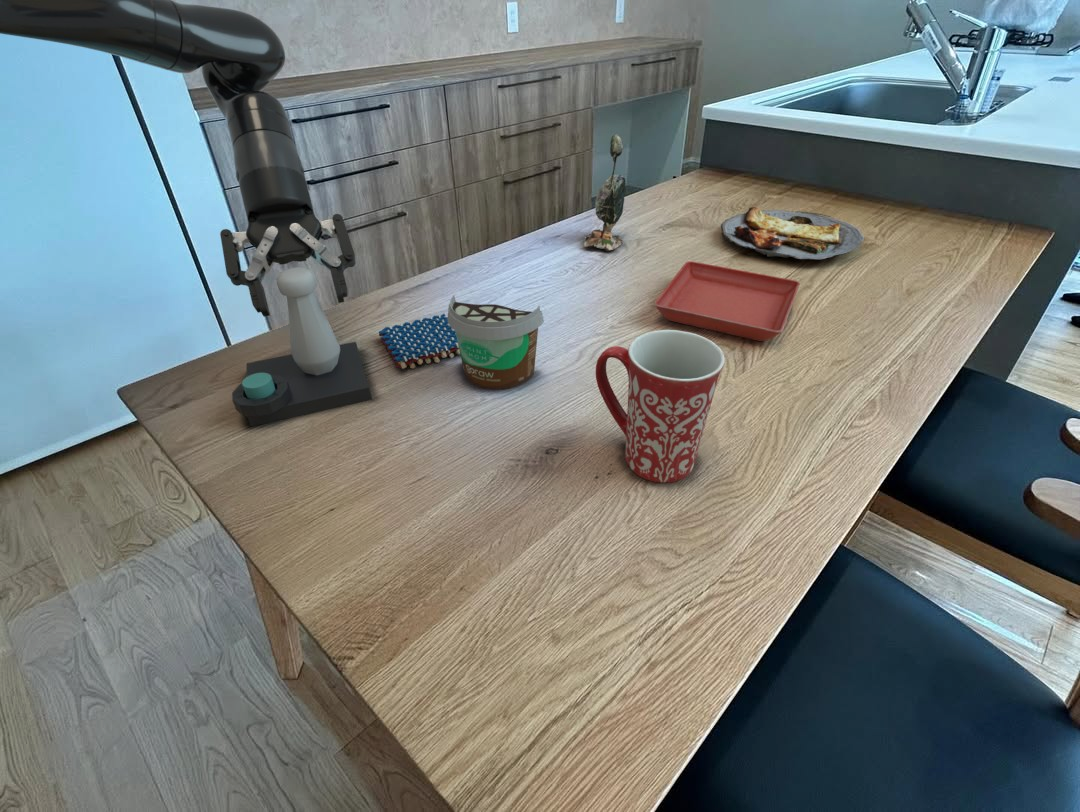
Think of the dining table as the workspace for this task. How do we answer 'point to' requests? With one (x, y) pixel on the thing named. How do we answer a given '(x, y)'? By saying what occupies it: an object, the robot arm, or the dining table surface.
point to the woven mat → (420, 341)
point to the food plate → (791, 233)
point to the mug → (663, 399)
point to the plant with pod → (609, 205)
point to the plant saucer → (728, 300)
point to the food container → (495, 343)
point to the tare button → (258, 386)
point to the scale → (304, 388)
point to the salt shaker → (308, 323)
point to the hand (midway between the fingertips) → (303, 307)
